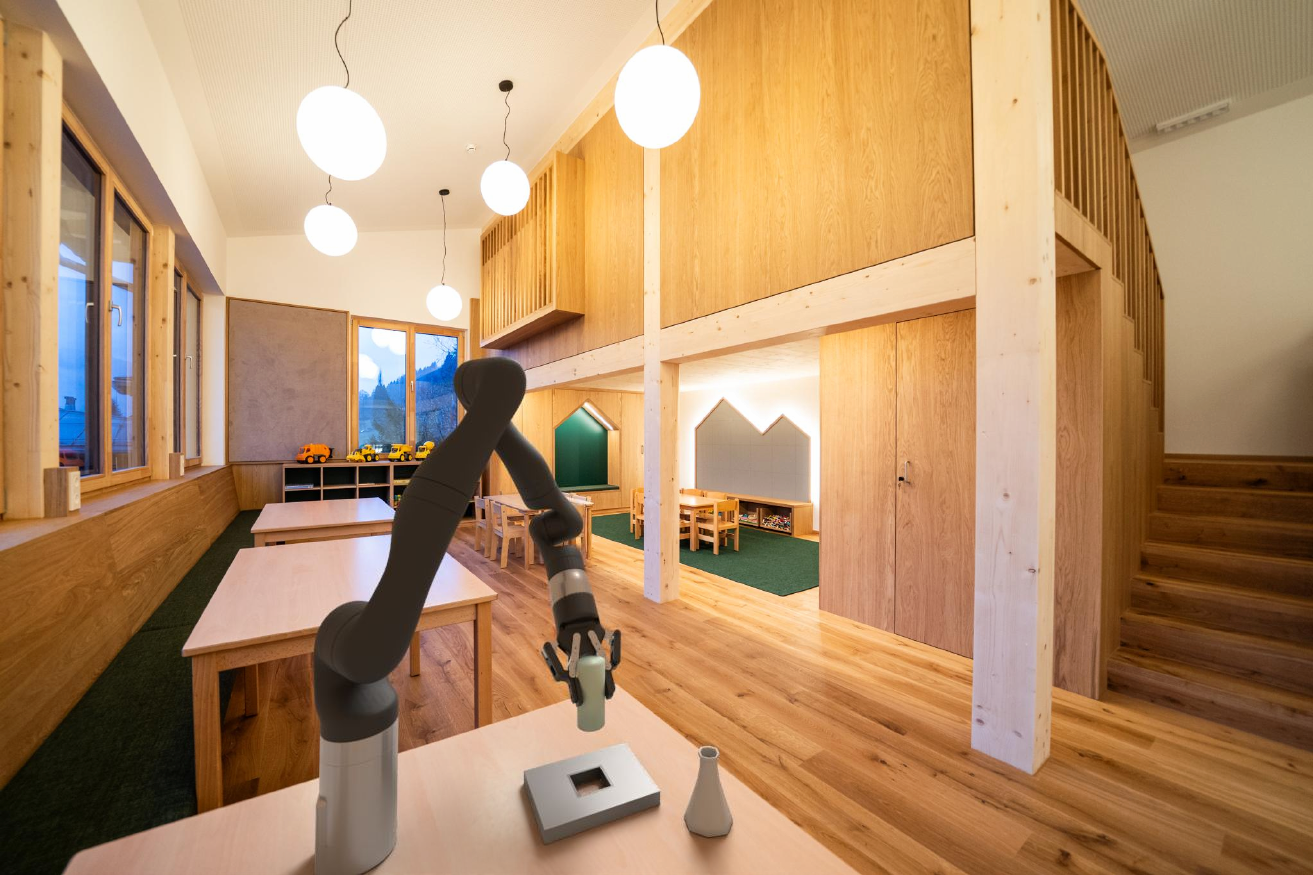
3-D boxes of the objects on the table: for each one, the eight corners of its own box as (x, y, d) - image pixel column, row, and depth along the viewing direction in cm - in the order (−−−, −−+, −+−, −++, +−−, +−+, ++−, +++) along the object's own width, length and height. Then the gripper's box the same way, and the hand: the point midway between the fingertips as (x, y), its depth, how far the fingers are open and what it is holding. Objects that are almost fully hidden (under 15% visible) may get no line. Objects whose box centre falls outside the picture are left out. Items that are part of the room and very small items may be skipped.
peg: (582, 734, 77) (582, 669, 77) (573, 720, 81) (573, 658, 81) (608, 727, 79) (608, 663, 79) (599, 713, 82) (599, 653, 83)
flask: (731, 804, 77) (732, 739, 77) (734, 841, 70) (734, 769, 70) (685, 800, 78) (685, 736, 78) (682, 836, 71) (683, 765, 71)
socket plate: (544, 844, 69) (544, 830, 69) (523, 783, 81) (523, 770, 82) (660, 803, 77) (660, 790, 77) (625, 753, 90) (625, 742, 90)
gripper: (536, 596, 83) (554, 702, 72) (615, 585, 90) (643, 681, 79) (529, 617, 88) (545, 721, 77) (605, 606, 94) (630, 699, 83)
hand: (595, 700), depth 78 cm, fingers closed on peg, 4 cm apart
